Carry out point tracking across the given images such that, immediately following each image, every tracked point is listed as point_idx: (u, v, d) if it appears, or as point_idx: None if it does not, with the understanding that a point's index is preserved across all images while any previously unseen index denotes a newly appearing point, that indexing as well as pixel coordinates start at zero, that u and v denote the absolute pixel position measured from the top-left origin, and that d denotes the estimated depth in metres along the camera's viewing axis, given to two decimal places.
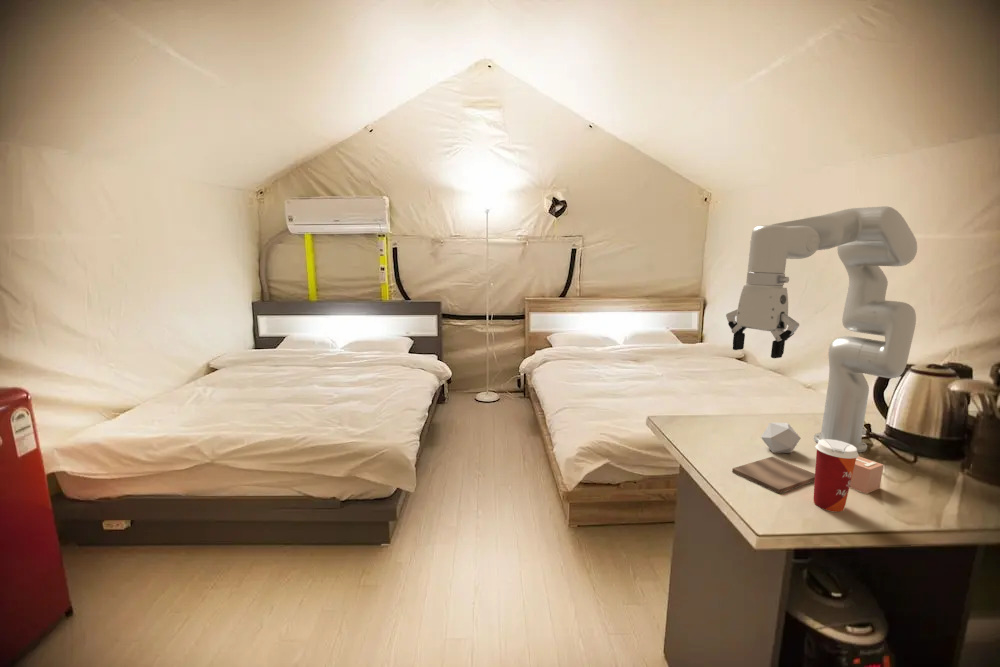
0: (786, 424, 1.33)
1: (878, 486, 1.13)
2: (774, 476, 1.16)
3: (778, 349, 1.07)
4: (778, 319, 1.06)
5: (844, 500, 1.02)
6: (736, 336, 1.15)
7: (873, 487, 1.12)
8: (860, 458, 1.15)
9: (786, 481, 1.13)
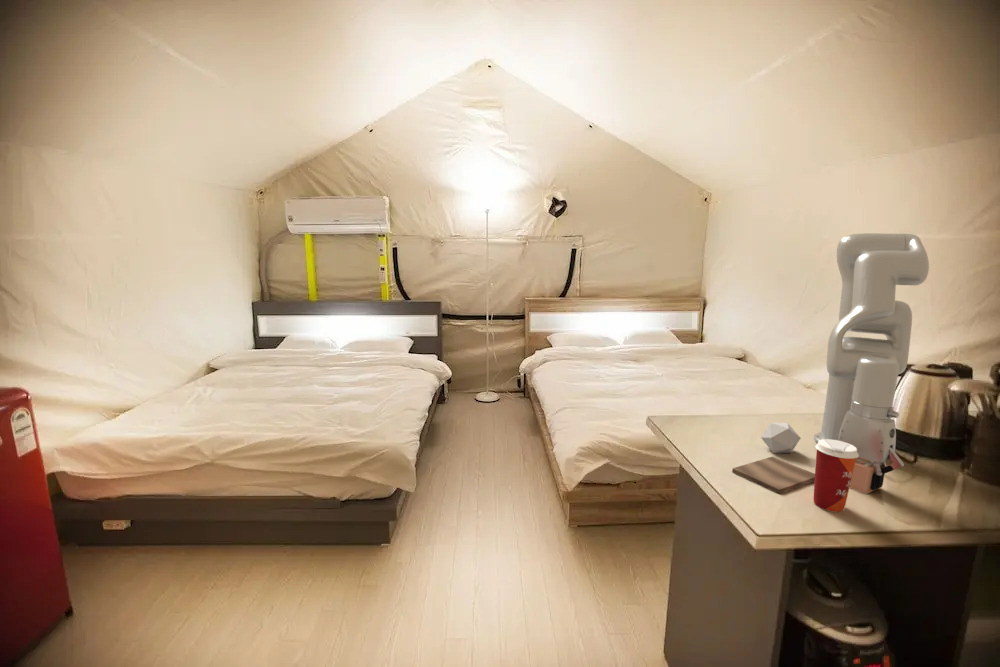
0: (786, 424, 1.33)
1: None
2: (774, 476, 1.16)
3: (878, 482, 1.10)
4: (887, 453, 1.08)
5: (844, 500, 1.02)
6: None
7: None
8: (860, 458, 1.15)
9: (786, 481, 1.13)
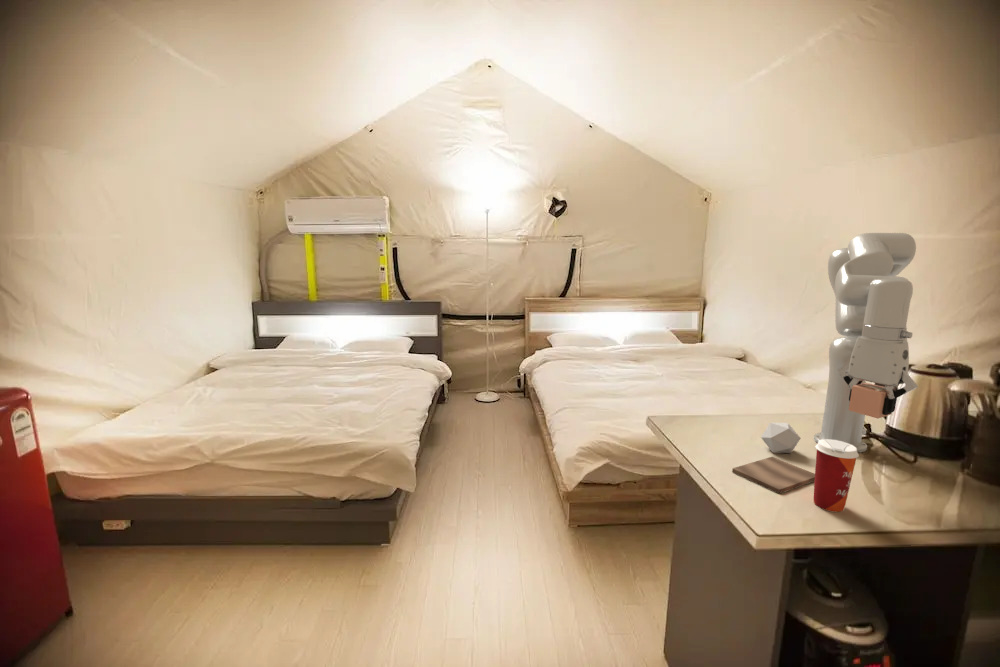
0: (786, 424, 1.33)
1: None
2: (774, 476, 1.16)
3: (890, 406, 1.07)
4: (900, 375, 1.05)
5: (844, 500, 1.02)
6: None
7: None
8: (871, 385, 1.13)
9: (786, 481, 1.13)
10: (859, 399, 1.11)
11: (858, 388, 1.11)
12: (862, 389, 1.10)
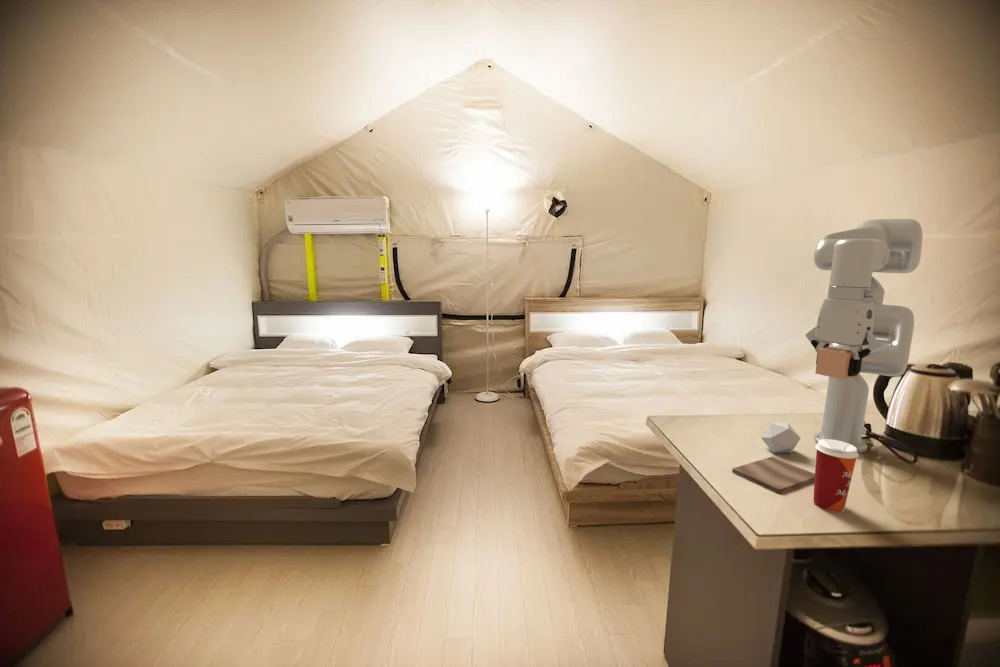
0: (786, 424, 1.33)
1: None
2: (774, 476, 1.16)
3: (855, 367, 1.07)
4: (864, 334, 1.04)
5: (844, 500, 1.02)
6: None
7: None
8: (838, 348, 1.12)
9: (786, 481, 1.13)
10: (825, 361, 1.10)
11: (824, 350, 1.10)
12: (828, 351, 1.09)
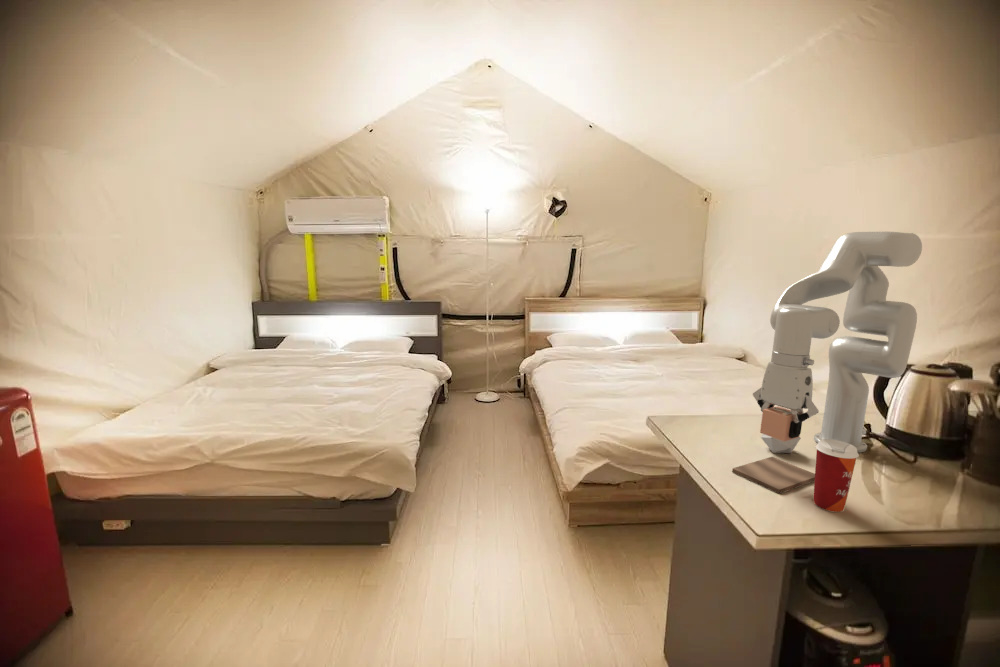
0: None
1: None
2: (774, 476, 1.16)
3: (796, 430, 1.12)
4: (803, 400, 1.10)
5: (844, 500, 1.02)
6: None
7: None
8: (782, 408, 1.17)
9: (786, 481, 1.13)
10: (768, 422, 1.15)
11: (768, 411, 1.16)
12: (771, 412, 1.15)
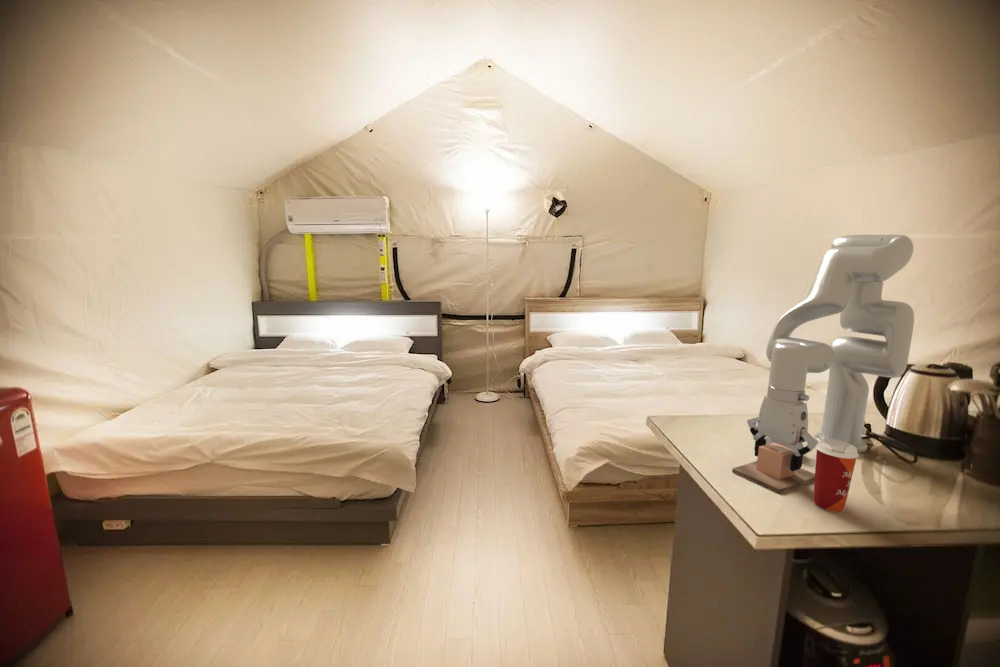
0: None
1: (793, 472, 1.17)
2: None
3: (797, 463, 1.12)
4: (799, 435, 1.11)
5: (844, 500, 1.02)
6: (758, 444, 1.20)
7: (788, 473, 1.16)
8: (777, 445, 1.19)
9: (786, 481, 1.13)
10: (764, 459, 1.17)
11: (763, 449, 1.17)
12: (767, 450, 1.17)
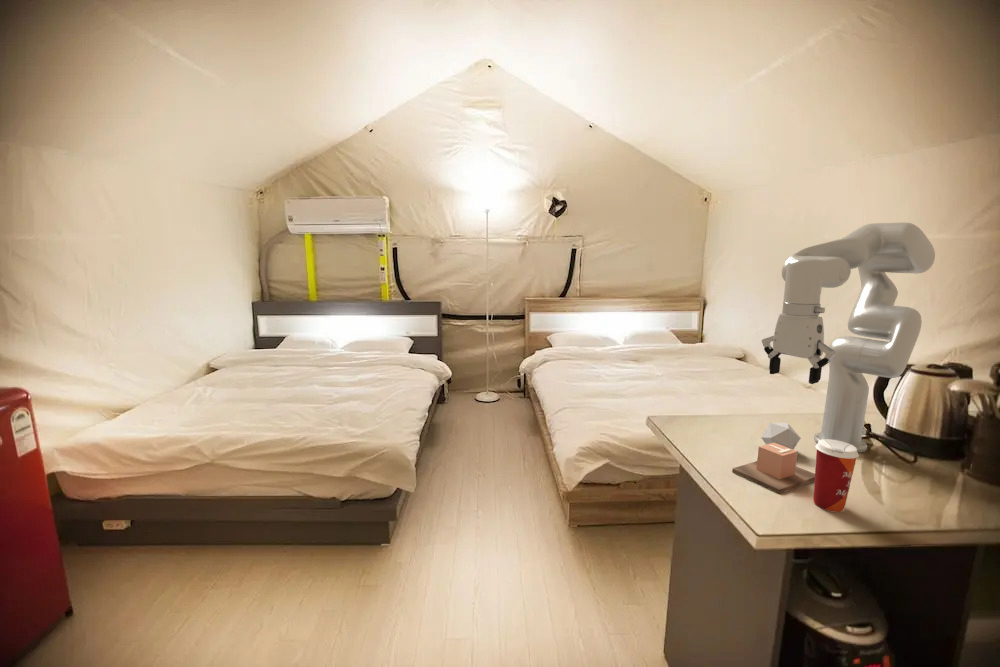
0: (786, 424, 1.33)
1: (793, 472, 1.17)
2: None
3: (816, 375, 1.13)
4: (815, 347, 1.12)
5: (844, 500, 1.02)
6: (773, 361, 1.22)
7: (788, 473, 1.16)
8: (777, 445, 1.19)
9: (786, 481, 1.13)
10: (764, 459, 1.17)
11: (763, 449, 1.17)
12: (767, 450, 1.17)
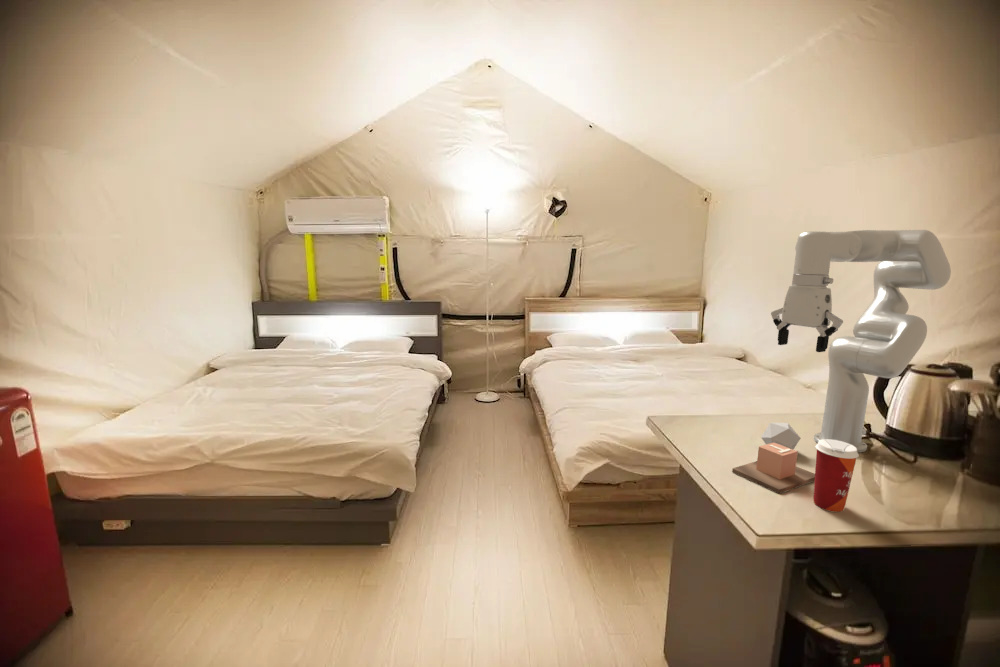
0: (786, 424, 1.33)
1: (793, 472, 1.17)
2: None
3: (823, 344, 1.18)
4: (823, 316, 1.17)
5: (844, 500, 1.02)
6: (781, 332, 1.26)
7: (788, 473, 1.16)
8: (777, 445, 1.19)
9: (786, 481, 1.13)
10: (764, 459, 1.17)
11: (763, 449, 1.17)
12: (767, 450, 1.17)
